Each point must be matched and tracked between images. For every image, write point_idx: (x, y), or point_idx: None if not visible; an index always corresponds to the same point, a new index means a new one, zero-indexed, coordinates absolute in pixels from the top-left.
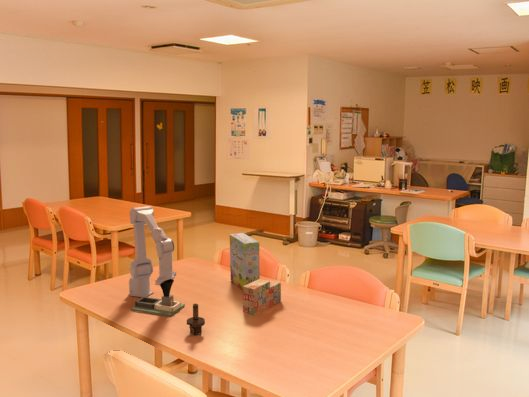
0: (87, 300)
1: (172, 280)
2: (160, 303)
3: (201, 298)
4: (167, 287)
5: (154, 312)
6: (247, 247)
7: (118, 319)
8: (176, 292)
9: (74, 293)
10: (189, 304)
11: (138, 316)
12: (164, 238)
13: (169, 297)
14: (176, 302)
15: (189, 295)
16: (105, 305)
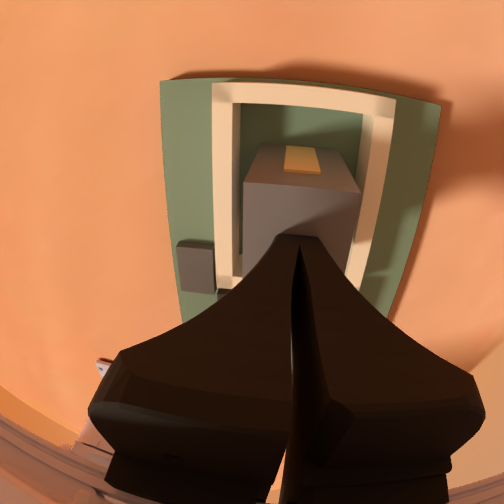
0: (281, 471)
1: (212, 430)
2: None
3: (12, 74)
4: (395, 335)
5: (409, 249)
6: None
7: (464, 365)
8: (27, 265)
9: None
10: (119, 69)
11: (440, 312)
12: None
13: (348, 197)
14: (231, 129)
15: (11, 175)
16: None
